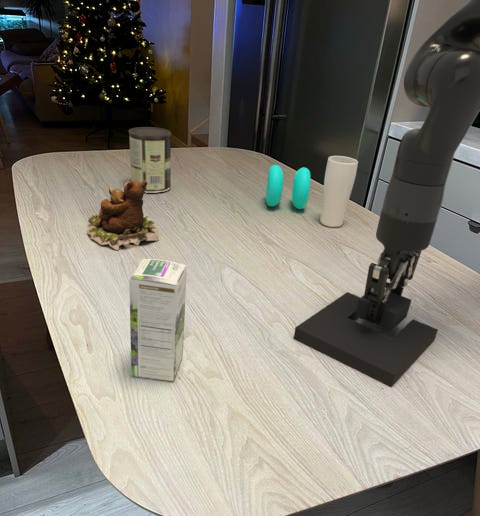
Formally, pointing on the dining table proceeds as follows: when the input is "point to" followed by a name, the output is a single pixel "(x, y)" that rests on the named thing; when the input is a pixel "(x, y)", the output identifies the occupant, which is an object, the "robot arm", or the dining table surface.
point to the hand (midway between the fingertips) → (382, 313)
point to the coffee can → (151, 157)
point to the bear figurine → (123, 218)
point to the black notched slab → (364, 341)
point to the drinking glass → (337, 189)
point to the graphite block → (387, 311)
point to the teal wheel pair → (298, 191)
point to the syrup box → (157, 318)
